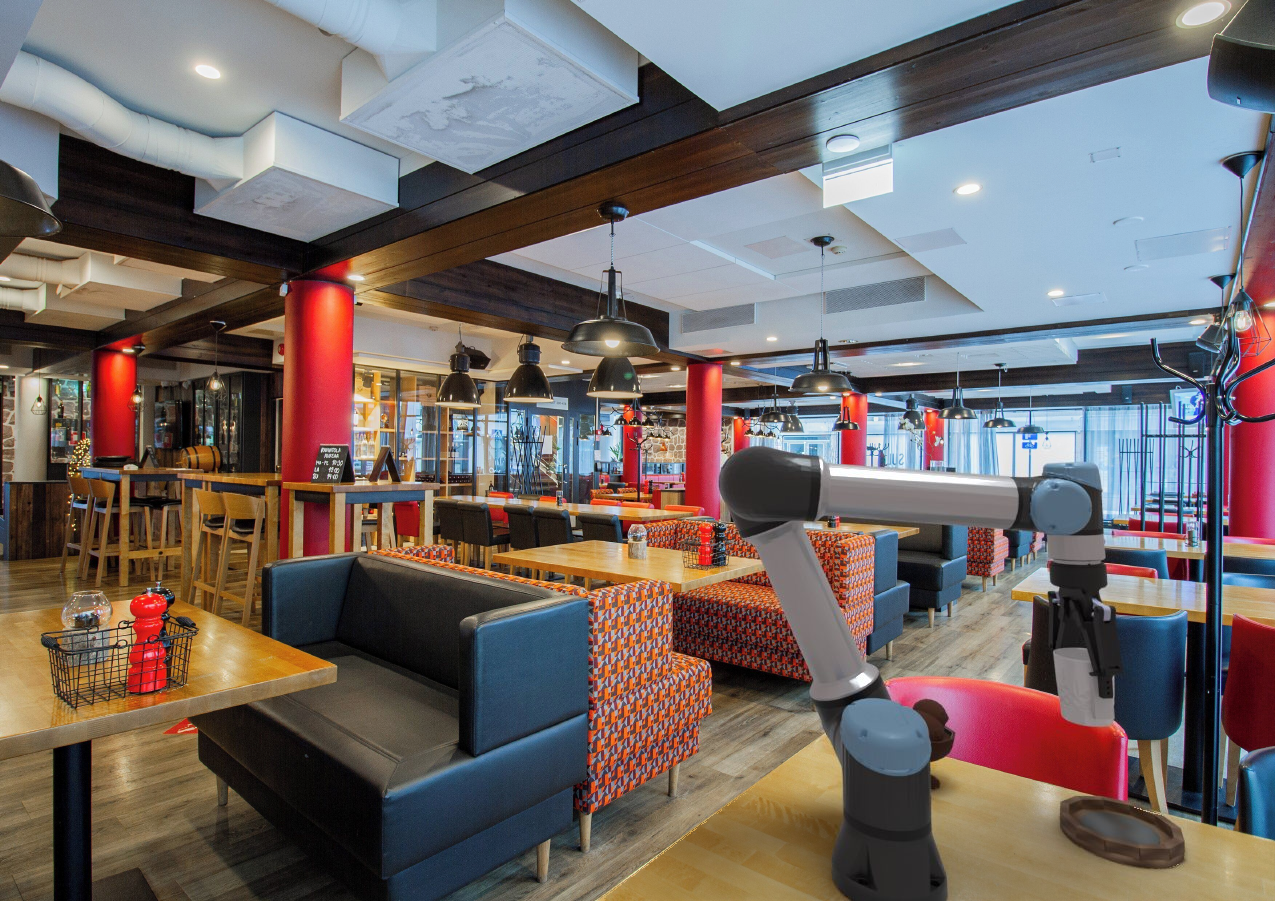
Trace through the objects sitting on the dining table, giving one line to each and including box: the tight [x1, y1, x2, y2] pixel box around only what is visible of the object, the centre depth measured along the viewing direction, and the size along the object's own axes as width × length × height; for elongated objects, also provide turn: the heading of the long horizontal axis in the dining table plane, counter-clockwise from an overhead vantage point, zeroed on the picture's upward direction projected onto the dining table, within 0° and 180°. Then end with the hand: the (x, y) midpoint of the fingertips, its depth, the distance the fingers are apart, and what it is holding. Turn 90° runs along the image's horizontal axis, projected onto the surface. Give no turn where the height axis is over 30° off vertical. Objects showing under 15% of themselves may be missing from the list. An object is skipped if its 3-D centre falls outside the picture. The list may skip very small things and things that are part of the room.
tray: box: [1059, 795, 1186, 870], centre depth 104 cm, size 16×16×3 cm
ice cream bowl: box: [912, 698, 956, 791], centre depth 123 cm, size 11×11×15 cm
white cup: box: [1052, 647, 1115, 728], centre depth 104 cm, size 8×8×10 cm
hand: (1086, 708), depth 104 cm, fingers closed on white cup, 8 cm apart
